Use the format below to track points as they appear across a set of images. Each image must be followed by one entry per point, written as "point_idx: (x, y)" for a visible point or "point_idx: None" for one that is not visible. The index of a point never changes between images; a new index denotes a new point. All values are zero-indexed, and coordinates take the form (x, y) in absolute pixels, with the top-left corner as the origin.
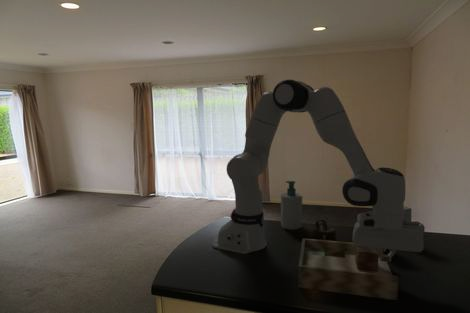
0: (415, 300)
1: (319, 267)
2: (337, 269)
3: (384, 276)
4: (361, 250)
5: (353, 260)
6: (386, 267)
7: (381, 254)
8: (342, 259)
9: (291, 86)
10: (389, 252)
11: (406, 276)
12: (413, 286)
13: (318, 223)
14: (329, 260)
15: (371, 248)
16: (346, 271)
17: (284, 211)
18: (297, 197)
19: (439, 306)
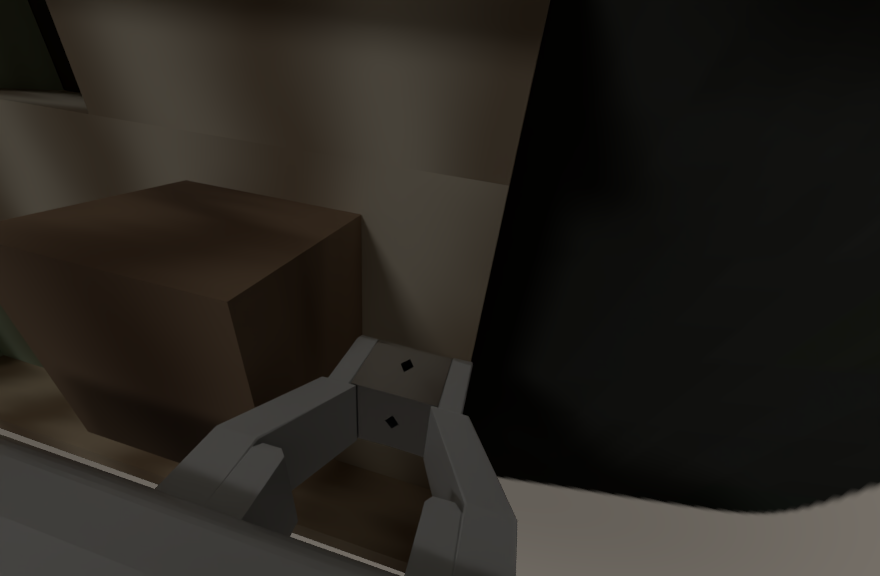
0: (545, 445)
1: (6, 423)
2: (91, 453)
3: (342, 546)
4: (72, 351)
5: (169, 171)
6: (455, 306)
7: (318, 457)
8: (81, 159)
9: None
10: (444, 446)
11: (686, 208)
12: (631, 345)
13: None
14: (10, 189)
15: (168, 297)
16: (140, 477)
17: None
18: None
19: (639, 489)
